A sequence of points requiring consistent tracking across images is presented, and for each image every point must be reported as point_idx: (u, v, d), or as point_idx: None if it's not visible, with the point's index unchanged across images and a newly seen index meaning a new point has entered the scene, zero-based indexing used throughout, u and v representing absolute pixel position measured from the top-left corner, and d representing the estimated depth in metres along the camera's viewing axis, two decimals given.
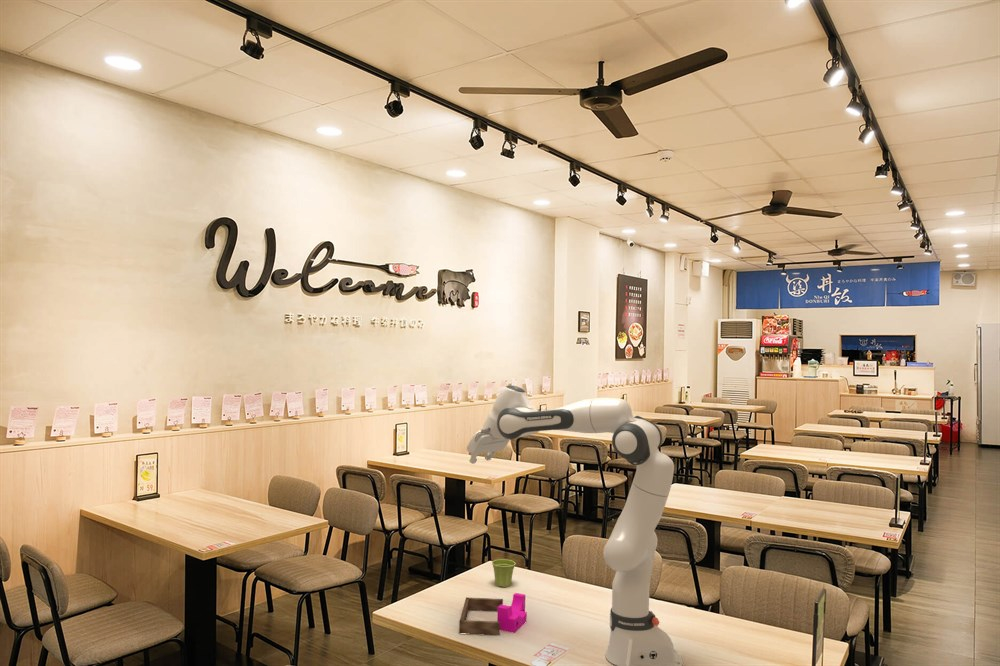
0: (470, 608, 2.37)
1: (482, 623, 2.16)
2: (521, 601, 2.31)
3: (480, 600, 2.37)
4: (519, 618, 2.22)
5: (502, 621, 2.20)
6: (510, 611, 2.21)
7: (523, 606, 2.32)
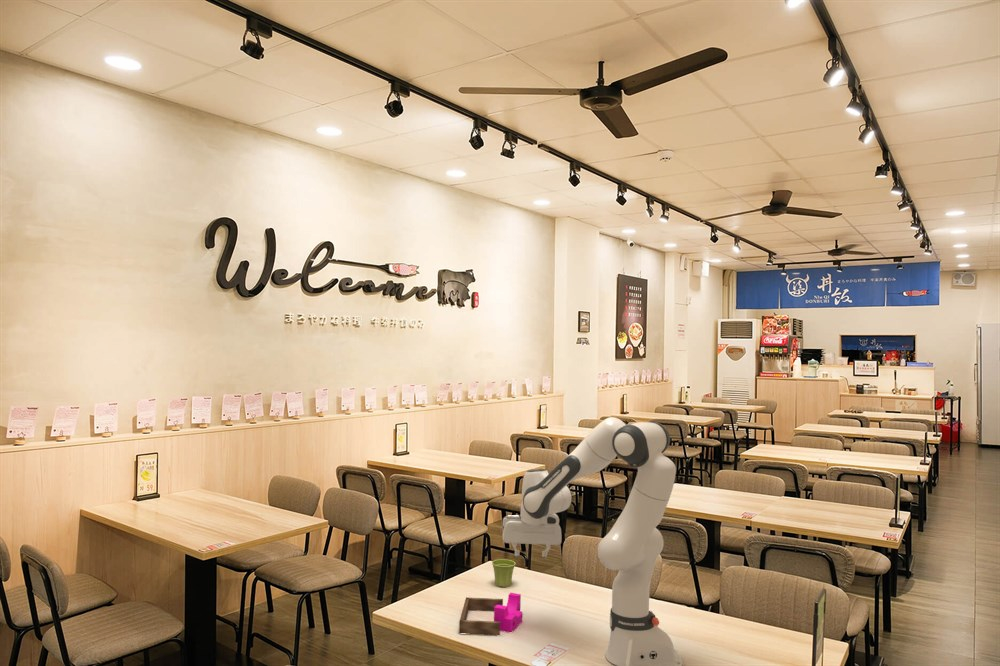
0: (470, 608, 2.37)
1: (482, 623, 2.16)
2: (517, 600, 2.31)
3: (480, 600, 2.37)
4: (515, 618, 2.22)
5: (499, 621, 2.20)
6: (506, 611, 2.21)
7: (518, 606, 2.32)
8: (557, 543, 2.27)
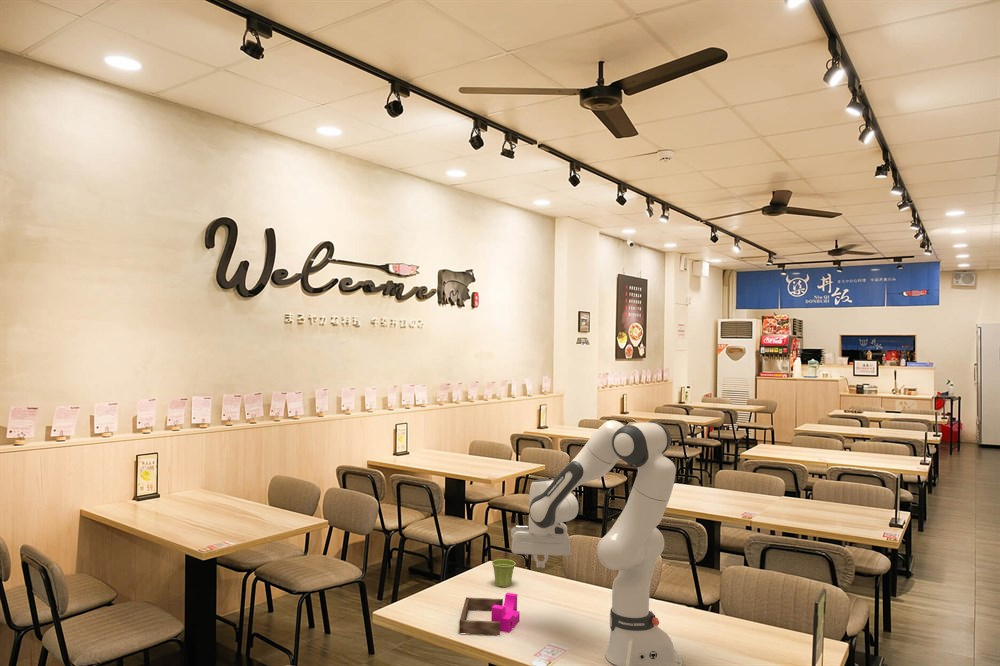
0: (470, 608, 2.37)
1: (482, 623, 2.16)
2: (514, 600, 2.31)
3: (480, 600, 2.37)
4: (513, 618, 2.22)
5: None
6: (504, 611, 2.21)
7: (515, 606, 2.32)
8: (566, 554, 2.24)
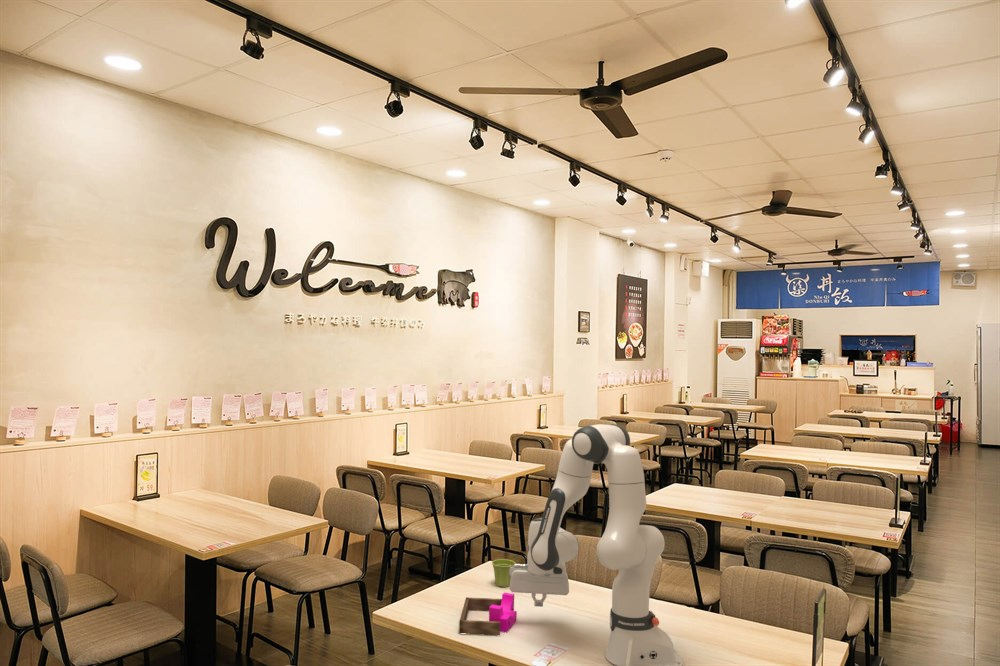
0: (470, 608, 2.37)
1: (482, 623, 2.16)
2: (511, 600, 2.31)
3: (480, 600, 2.37)
4: (510, 617, 2.22)
5: None
6: (501, 611, 2.21)
7: (512, 605, 2.32)
8: (564, 593, 2.24)
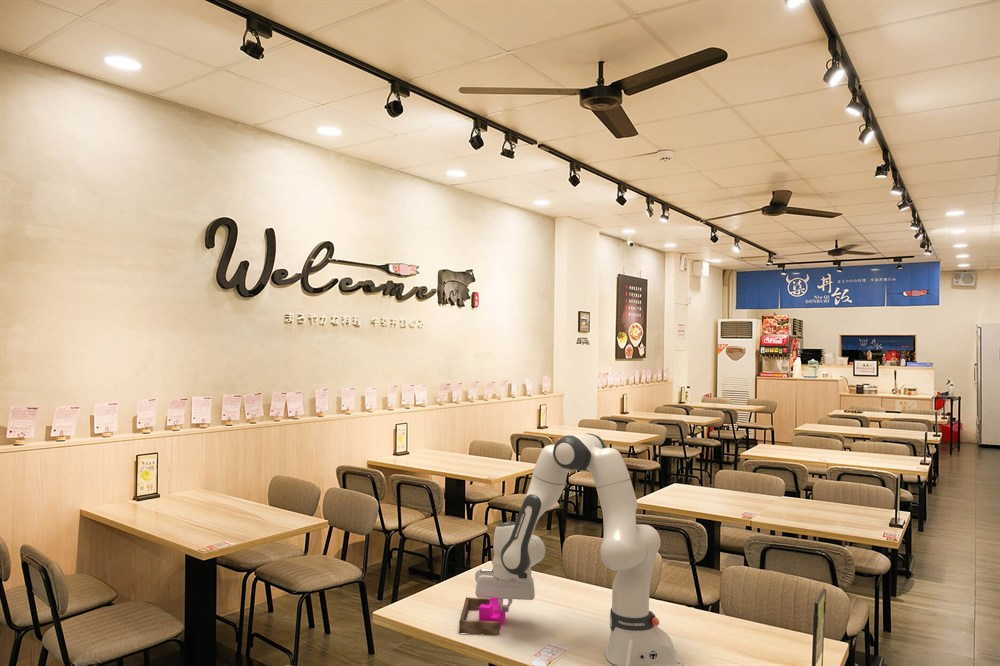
0: (470, 608, 2.37)
1: (482, 623, 2.16)
2: None
3: (480, 600, 2.37)
4: (500, 617, 2.22)
5: None
6: (491, 610, 2.21)
7: None
8: (530, 598, 2.25)
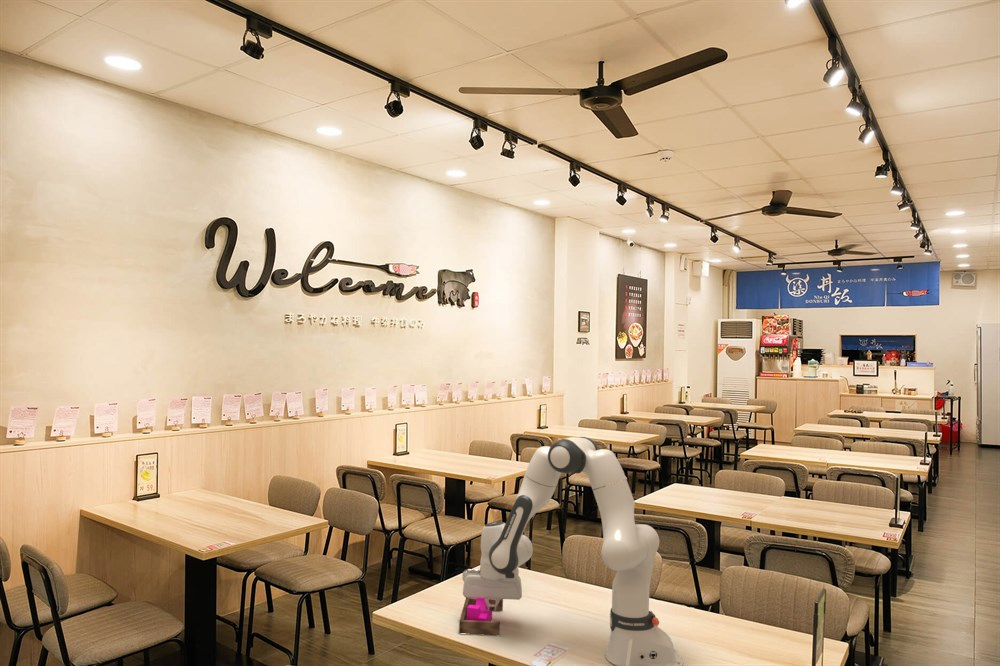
0: None
1: (482, 623, 2.16)
2: None
3: None
4: (488, 617, 2.22)
5: None
6: (479, 610, 2.21)
7: None
8: (517, 598, 2.25)
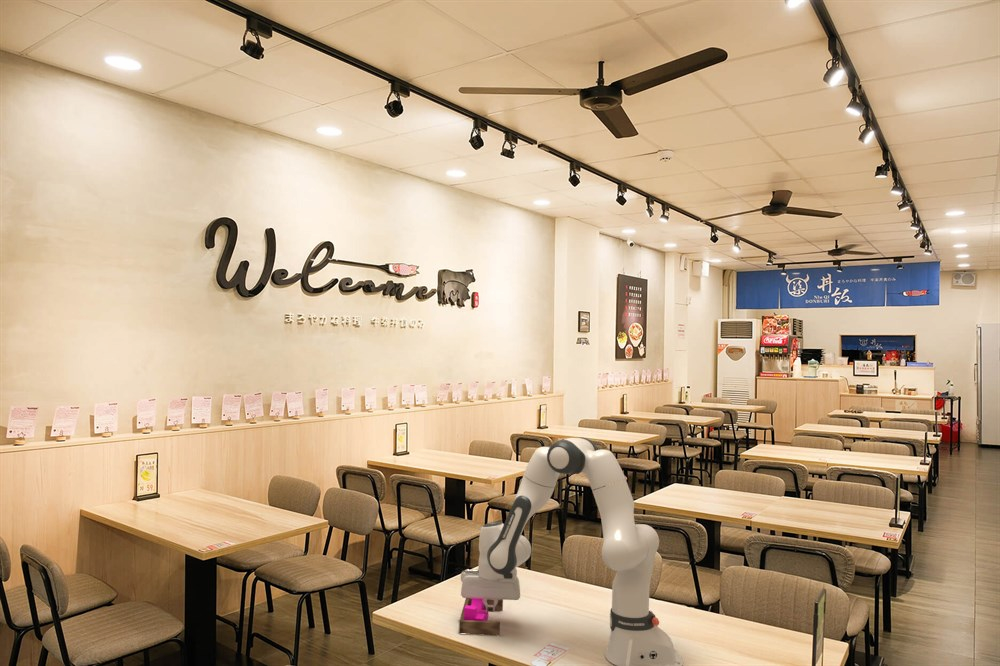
0: None
1: (482, 623, 2.16)
2: (481, 599, 2.31)
3: None
4: (484, 617, 2.22)
5: None
6: (476, 611, 2.21)
7: (482, 605, 2.32)
8: (515, 598, 2.25)
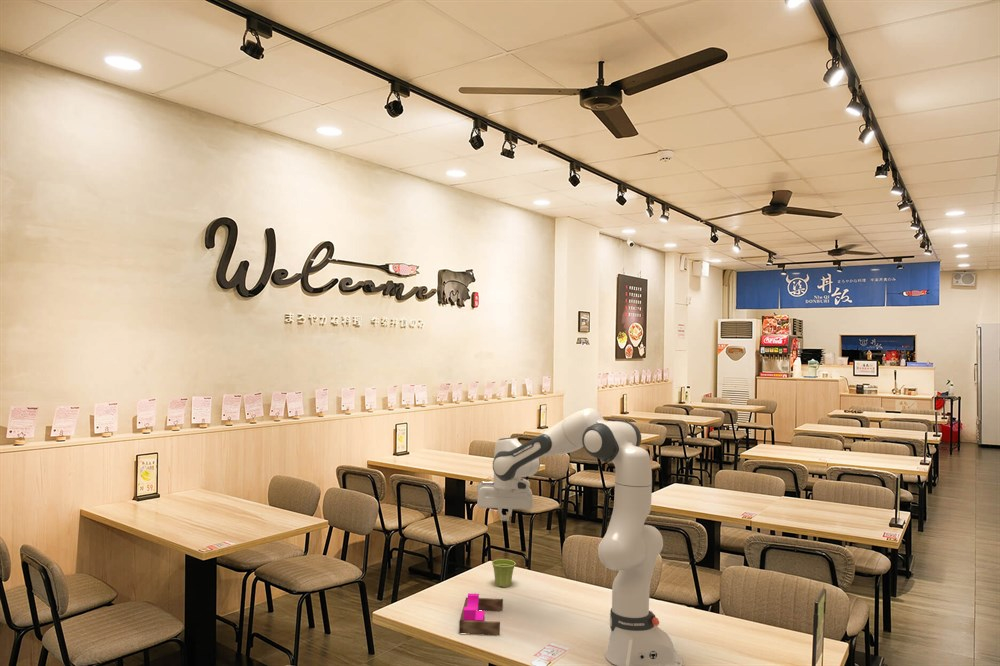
0: None
1: (482, 623, 2.16)
2: (477, 600, 2.30)
3: (480, 600, 2.37)
4: (483, 618, 2.22)
5: None
6: (475, 612, 2.20)
7: (478, 605, 2.31)
8: (529, 507, 2.38)
